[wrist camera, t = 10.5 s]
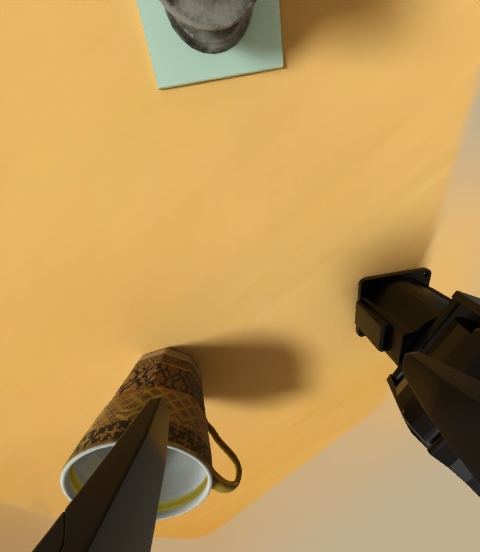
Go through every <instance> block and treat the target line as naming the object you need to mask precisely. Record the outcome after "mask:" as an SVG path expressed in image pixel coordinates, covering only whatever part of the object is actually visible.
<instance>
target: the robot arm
mask: <svg viewBox="0 0 480 552" xmlns="http://www.w3.org/2000/svg"><path fill="white" fill-rule="evenodd" d="M424 273H425V274H424ZM423 274H424V275H423ZM430 277H431V271H430V270H429V269H427V268H420V269H414V270H408V271H403V272H397V273H391V274H385V275H380V276H374V277H368V278H363V279H361V280H360V282H359V287H358V300H357V302H356V314H355V324H356V333H357V334H358V335H359V336H360V337H363V336H366V337H367V338H368V339H369V340H370V341H371V342H372V344H373V345H374V346H375V347H376V348H377V349H378V350H379V351H380V352H383V351H385V352H386V353H387V355H388V356H389V357H390V358H391V359H392V360H393V361H394V362H395V364H396V365H397V366H398V367H397V369H396V370H395V371H394V372H393V374H390V375H389V377H388V378H387V382H388V384H389V386H390V388H391V391H392V393H393V395H394V398H395V400H396V402H397V404H398V407H399V409H400V411H401V414H402V416H403V418H404V420H405V422H406V424H407V426H408V428H409V429H410V431H411V433H412V434H413V435H414V436H415V437H416V438H417V439H418V440H419V441H420V442H421V443H422V444H423V445H424V446H425V447H426V448H427V451H428V452H429V454H430V455H432V456H433V457H434V458H436V459H437V460H439V461H440V462H441V463H443V464H444V465H445V466H447V467H448V468H449V469H450V470H452V471H453V472H454V473H455V474H456V475H457V476H458V477H460V478H461V479H462V480H463V481H465V483H466V484H467V485H468V486H470V488H471V489H472V490H473V491H474V492H475V493H476V494H477V495H478V496H479V497H480V298H477V297H474V296H471V295H468V294H465V293H462V292H460V291H456V292H455V293H454V294H453V295H452V299H450V298H449V297H447V296H445V295H443V294H442V293H440V292H438V291H436V290H435V289H433V288H431V287H429V282H430ZM366 282H367V283H366ZM365 283H366V285H364V284H365ZM361 331H362V332H361ZM169 418H170V414H169V409H168V407H167V405H166V402H165V400H164V398H163V397H162V396H158V397H153V398H151V399H150V400H149V401H148V402H147V403H146V405H145V406H144V407H143V409H142V410H141V411H140V412H139V414H138V415H137V416H136V418H135V419H134V420H133V422H132V423H131V424H130V425H129V427H128V428H127V429H126V431H125V432H124V433H123V435H122V436H121V437H120V438H119V440H118V441H117V442H116V444H115V445H114V446H113V448H112V449H111V450H110V452H109V453H108V454H107V455H106V457H105V458H104V459H103V461H102V462H101V463H100V465H99V466H98V467H97V468H96V470H95V471H94V472H93V474H92V475H91V476H90V478H89V479H88V480H87V481H86V483H85V484H84V485H83V487H82V488H81V489H80V491H79V492H78V493H77V494H76V496H75V497H74V498H73V500H72V501H71V502H70V504H69V505H68V506H67V507H66V509H65V512H63V513H62V514H61V515H60V516H59V518H58V519H57V520H56V522H55V523H54V524H53V526H52V527H51V528H50V530H49V531H48V532H47V533H46V535H45V536H44V537H43V538H42V540H41V541H40V542H39V543H38V545H37V546H36V547H35V549H34V550H33V551H32V552H150V550H151V545H152V539H153V534H154V528H155V522H156V517H157V511H158V505H159V500H160V494H161V488H162V483H163V477H164V471H165V465H166V455H167V443H168V430H169Z"/></svg>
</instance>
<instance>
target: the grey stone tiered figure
mask: <svg viewBox="0 0 480 552" xmlns="http://www.w3.org/2000/svg"><path fill="white" fill-rule="evenodd" d="M159 1H160V2H161V4H162V5H163V6H164V9H165V13H166V15H167V17H168V19H169V21H170V24H171V26H172V28H173V29H174V30H175V32H176V33H177V34H178V36H179V37H180V38H181V40H183V41H184V42H185V43H186V44H187V45H189V46H190V47H191V48H193V49H195V50H197V51H199V52H202V53H208V54H217V53H221V52H225V51H227V50H228V49H230V48H232V47H233V46H235V45H236V44H237V43H238V41H239V40H240V39H241V38H242V37H243V36H244V34H245V32H246V30H247V28H248V26H249V24H250V22H251V18H252V14H253V10H254V6H255V3H256V1H257V0H159Z"/></svg>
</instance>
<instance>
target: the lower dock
mask: <svg viewBox="0 0 480 552" xmlns="http://www.w3.org/2000/svg"><path fill="white" fill-rule="evenodd" d="M137 4H138V8H139V12H140V16H141V20H142V25H143V29H144V33H145V37H146V41H147V45H148V49H149V53H150V57H151V61H152V65H153V69H154V73H155V77H156V81H157V85H158V89H159V90H160V89H166V88H172V87H177V86H183V85H189V84H194V83H200V82H206V81H211V80H217V79H223V78H228V77H234V76H240V75H245V74H251V73H257V72H262V71H268V70H274V69H279V68H283V52H282V36H281V21H280V5H279V0H257V1H256V3H255V6H254V10H253V14H252V18H251V22H250V24H249V26H248V28H247V30H246V32H245V34H244V36H243V37H242V38H241V39H240V40H239V41H238V43H237V44H236V45H235V46H233V47H232V48H230V49H228V50H227V51H225V52H221V53H217V54H208V53H202V52H199V51H197V50H195V49H193V48H191V47H190V46H189V45H187V44H186V43H185V42H184V41H183V40H181V38H180V37H179V36H178V34H177V33H176V32H175V30H174V29H173V28H172V26H171V24H170V21H169V19H168V17H167V15H166V13H165V9H164V6H163V5H162V4H161V2H160V1H159V0H137Z"/></svg>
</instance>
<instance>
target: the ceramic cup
mask: <svg viewBox="0 0 480 552" xmlns="http://www.w3.org/2000/svg"><path fill="white" fill-rule="evenodd" d="M158 396H162V397H163V398H164V400H165V402H166V405H167V407H168V409H169V414H170V418H169V430H168V443H167V455H166V465H165V471H164V477H163V483H162V488H161V494H160V500H159V505H158V511H157V517H156V520H163V519H167V518H171V517H175V516H178V515H181V514H183V513H185V512H188V511H190V510H191V509H193V508H195V507H196V506H198V505H199V504H200V503H201V502H203V501H204V500H205V498H206V497H207V496H208V495H209V493H210V491H211V489H214V490H215V491H218V492H220V493H228V492H231V491H233V490H235V489H236V488H237V486H238V485H239V483H240V480H241V475H242V469H241V465H240V462H239V460H238V458H237V456H236V455H235V453H234V452H233V451H232V450H231V449H230V448H229V447H228V446H227V445H226V444H225V442H224V441H223V440H222V439H221V438H220V437H219V435H218V433H217V432H216V430H215V429H214V427H213V426H212V425H211V424H210V423H209V422H208V420H207V418H206V415H205V406H204V398H203V391H202V380H201V373H200V371H199V369H198V367H197V366H196V364H195V362H194V360H193V358H192V357H191V356H190V355H187V354H184V353H181V352H178V351H175V350H172V349H169V348H165V349H161V350H158V351H155V352H152V353H148V354H145V355H143V356H142V357H141V358H140V359H139V361H138V362H137V363H136V365H135V367H134V368H133V370H132V371H131V373H130V374H129V375H128V377H127V378H126V380H125V381H124V383H123V384H122V385H121V387H120V388H119V390H118V391H117V393H116V394H115V396H114V397H113V399H112V400H111V401H110V402H109V404H108V405H107V406H106V407H105V408H104V410H103V411H102V412H101V413H100V415H99V416H98V417H97V419H96V420H95V421H94V423H93V424H92V425H91V427H90V428H89V430H88V431H87V432H86V434H85V435H84V437H83V438H82V440H81V441H80V443H79V444H78V446H77V447H76V449H75V450H74V452H73V453H72V455H71V456H70V458H69V459H68V461H67V462H66V464H65V465H64V467H63V469H62V472H61V476H60V484H61V488H62V490H63V492H64V494H65V495H66V496H67V498H68V499H69V500H70V501H72V500H73V498H74V497H75V496H76V494H77V493H78V492H79V491H80V489H81V488H82V487H83V485H84V484H85V483H86V481H87V480H88V479H89V478H90V476H91V475H92V474H93V472H94V471H95V470H96V468H97V467H98V466H99V465H100V463H101V462H102V461H103V459H104V458H105V457H106V455H107V454H108V453H109V452H110V450H111V449H112V448H113V446H114V445H115V444H116V442H117V441H118V440H119V438H120V437H121V436H122V435H123V433H124V432H125V431H126V429H127V428H128V427H129V425H130V424H131V423H132V422H133V420H134V419H135V418H136V416H137V415H138V414H139V412H140V411H141V410H142V409H143V407H144V406H145V405H146V403H147V402H148V401H149V400H150V399H151V398H153V397H158ZM208 431H209V433H210V434H211V435H212V437H213V439H214V440H215V442H216V443H217V444H218V446H219V447H220V448H221V449H222V450H223V451H224V452H225V453H226V454H227V455H228V457H229V458H230V459H231V460H232V462H233V463H234V466H235V468H236V479H235V481H228V480H226V479H224V478H223V477H221V476H220V475H219V474H218V473H217V472H216V471H215V470H214V468H213V467H212V457H211V448H210V442H209V435H208Z"/></svg>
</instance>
